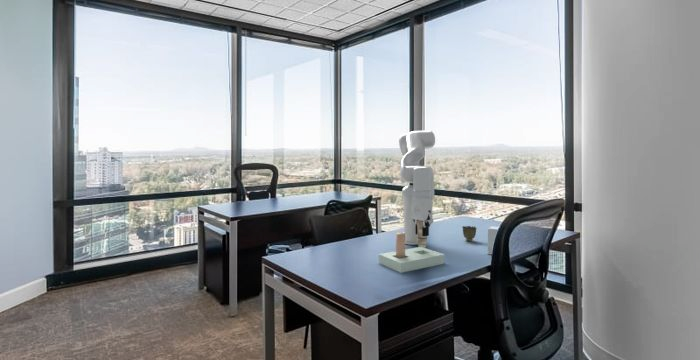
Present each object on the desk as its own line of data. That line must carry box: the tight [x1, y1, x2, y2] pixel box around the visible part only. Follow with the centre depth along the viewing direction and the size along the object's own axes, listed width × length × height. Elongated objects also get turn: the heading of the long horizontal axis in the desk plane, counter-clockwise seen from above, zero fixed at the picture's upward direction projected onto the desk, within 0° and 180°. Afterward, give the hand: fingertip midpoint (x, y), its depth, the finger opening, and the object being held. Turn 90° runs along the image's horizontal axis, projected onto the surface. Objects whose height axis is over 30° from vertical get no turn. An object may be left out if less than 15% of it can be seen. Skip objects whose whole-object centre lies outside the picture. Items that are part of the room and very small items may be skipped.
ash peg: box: [417, 220, 428, 248], centre depth 168 cm, size 4×4×14 cm
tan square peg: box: [395, 232, 406, 259], centre depth 163 cm, size 4×4×14 cm
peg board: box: [378, 247, 446, 274], centre depth 166 cm, size 16×24×5 cm, turn 119°
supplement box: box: [487, 225, 500, 255], centre depth 183 cm, size 7×7×13 cm
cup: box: [462, 225, 477, 243], centre depth 209 cm, size 8×7×8 cm
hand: (422, 234), depth 168 cm, fingers closed on ash peg, 4 cm apart
